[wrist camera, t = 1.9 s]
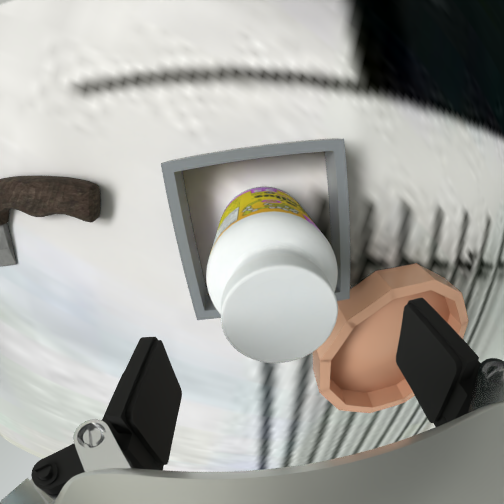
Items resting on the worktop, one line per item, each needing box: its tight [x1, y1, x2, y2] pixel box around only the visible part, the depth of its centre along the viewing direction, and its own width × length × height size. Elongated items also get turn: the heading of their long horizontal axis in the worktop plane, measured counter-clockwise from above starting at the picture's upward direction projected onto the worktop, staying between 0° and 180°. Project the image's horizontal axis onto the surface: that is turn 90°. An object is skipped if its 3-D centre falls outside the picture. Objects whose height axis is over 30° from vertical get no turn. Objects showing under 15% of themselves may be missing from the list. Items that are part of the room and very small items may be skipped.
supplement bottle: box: [206, 187, 338, 363], centre depth 17 cm, size 7×7×13 cm
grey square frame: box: [161, 139, 350, 320], centre depth 22 cm, size 13×13×2 cm
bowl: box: [313, 263, 468, 413], centre depth 26 cm, size 17×17×4 cm
